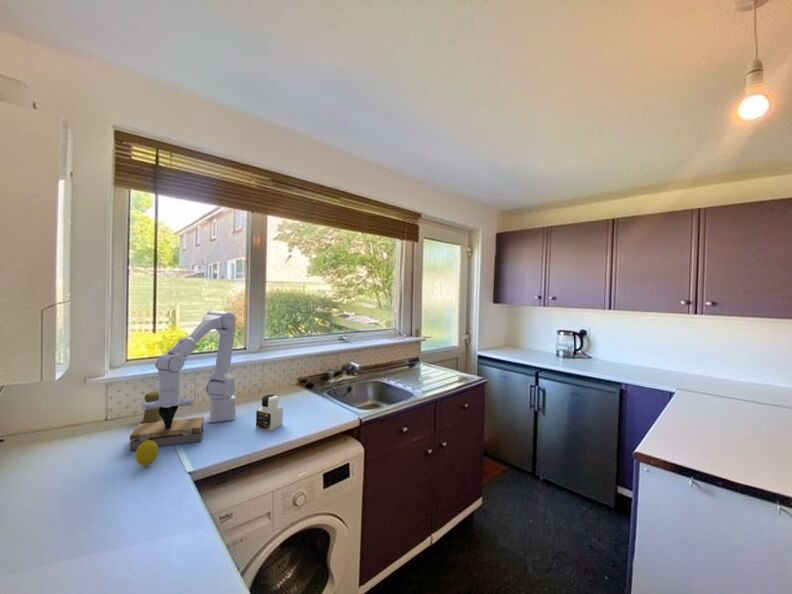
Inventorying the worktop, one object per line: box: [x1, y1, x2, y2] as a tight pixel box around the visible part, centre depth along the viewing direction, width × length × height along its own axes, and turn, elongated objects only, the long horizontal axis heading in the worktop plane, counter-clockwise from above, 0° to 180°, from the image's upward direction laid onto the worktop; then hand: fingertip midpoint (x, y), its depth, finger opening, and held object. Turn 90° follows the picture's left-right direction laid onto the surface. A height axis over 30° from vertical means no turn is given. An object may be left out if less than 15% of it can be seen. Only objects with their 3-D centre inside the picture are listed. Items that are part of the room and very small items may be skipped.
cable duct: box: [129, 421, 205, 452], centre depth 118 cm, size 20×10×3 cm, turn 115°
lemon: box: [135, 440, 159, 467], centre depth 102 cm, size 6×6×8 cm
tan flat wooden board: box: [129, 416, 205, 441], centre depth 118 cm, size 20×11×2 cm, turn 115°
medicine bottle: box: [255, 394, 284, 432], centre depth 133 cm, size 7×7×12 cm
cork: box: [142, 391, 162, 424], centre depth 133 cm, size 6×6×11 cm
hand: (168, 427), depth 116 cm, fingers closed, pressing on tan flat wooden board
